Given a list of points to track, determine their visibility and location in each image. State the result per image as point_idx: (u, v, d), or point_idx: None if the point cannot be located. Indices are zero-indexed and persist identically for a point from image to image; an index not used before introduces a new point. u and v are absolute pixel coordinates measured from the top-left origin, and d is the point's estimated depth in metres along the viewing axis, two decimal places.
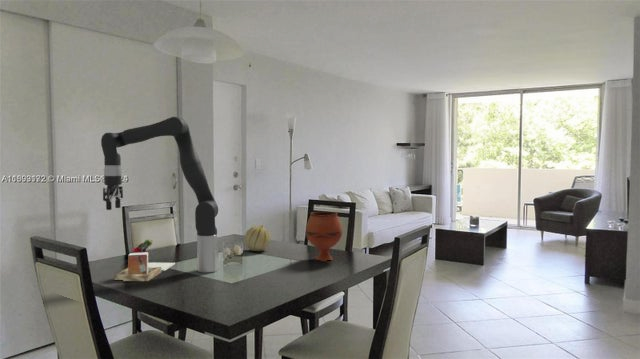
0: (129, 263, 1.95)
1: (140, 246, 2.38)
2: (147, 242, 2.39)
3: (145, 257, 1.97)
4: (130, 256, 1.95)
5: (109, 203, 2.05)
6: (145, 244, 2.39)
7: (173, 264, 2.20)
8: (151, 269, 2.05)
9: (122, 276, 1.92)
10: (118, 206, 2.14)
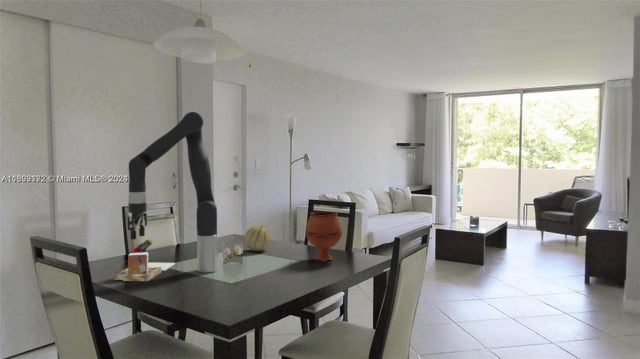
0: (129, 263, 1.95)
1: (140, 246, 2.38)
2: (147, 242, 2.39)
3: (145, 257, 1.97)
4: (130, 256, 1.95)
5: (134, 232, 1.93)
6: (145, 244, 2.39)
7: (173, 264, 2.20)
8: (151, 269, 2.05)
9: (122, 276, 1.92)
10: (142, 234, 2.02)
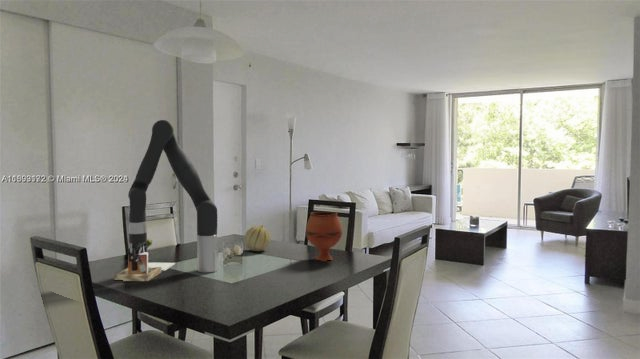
0: (129, 263, 1.95)
1: None
2: (147, 242, 2.39)
3: (145, 257, 1.97)
4: None
5: (135, 263, 1.94)
6: None
7: (173, 264, 2.20)
8: (151, 269, 2.05)
9: (122, 276, 1.92)
10: None
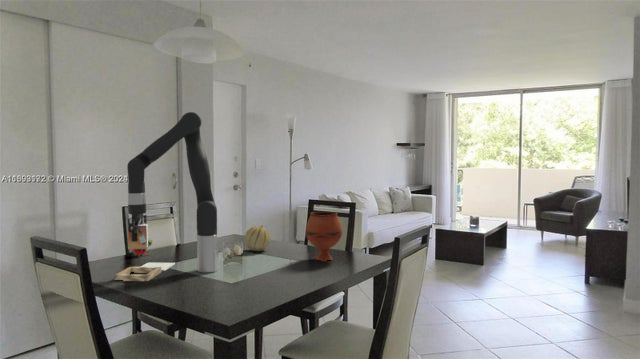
0: (129, 234, 1.94)
1: None
2: None
3: (145, 228, 1.96)
4: None
5: (135, 234, 1.94)
6: None
7: (173, 264, 2.20)
8: (151, 269, 2.05)
9: (122, 276, 1.92)
10: None
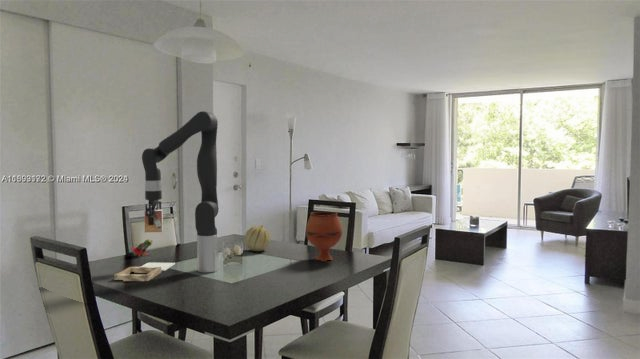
0: (145, 218, 2.10)
1: (140, 246, 2.38)
2: (147, 242, 2.39)
3: (160, 213, 2.11)
4: None
5: (151, 218, 2.09)
6: (145, 244, 2.39)
7: (173, 264, 2.20)
8: (151, 269, 2.05)
9: (122, 276, 1.92)
10: None
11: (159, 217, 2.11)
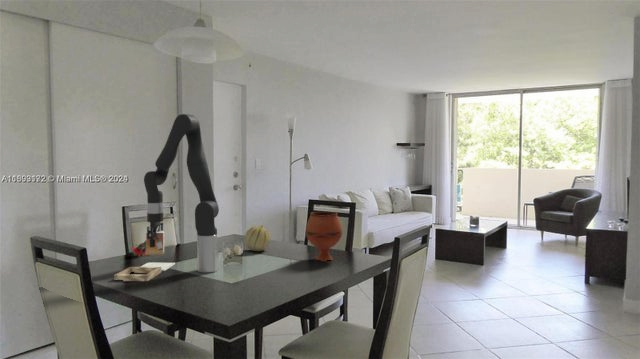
0: (147, 240, 2.12)
1: (140, 246, 2.38)
2: None
3: (162, 235, 2.13)
4: None
5: (153, 241, 2.11)
6: (145, 244, 2.39)
7: (173, 264, 2.20)
8: (151, 269, 2.05)
9: (122, 276, 1.92)
10: None
11: (160, 239, 2.13)
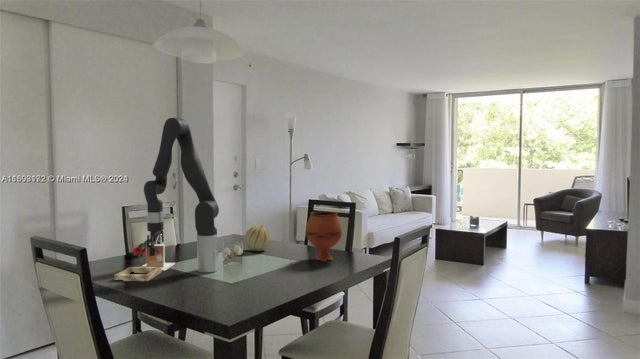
0: (147, 253, 2.12)
1: (140, 246, 2.38)
2: None
3: (162, 248, 2.14)
4: None
5: (152, 249, 2.10)
6: (145, 244, 2.39)
7: (173, 264, 2.20)
8: (151, 269, 2.05)
9: (122, 276, 1.92)
10: None
11: (161, 252, 2.13)
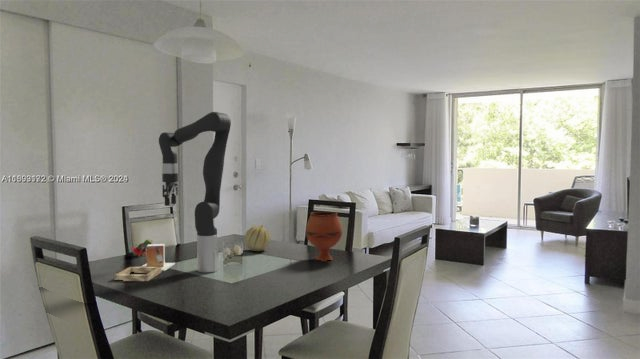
0: (147, 253, 2.12)
1: (140, 246, 2.38)
2: (147, 242, 2.39)
3: (162, 248, 2.14)
4: (148, 247, 2.12)
5: (168, 199, 2.16)
6: (145, 244, 2.39)
7: (173, 264, 2.20)
8: (151, 269, 2.05)
9: (122, 276, 1.92)
10: (174, 202, 2.25)
11: (161, 252, 2.13)
